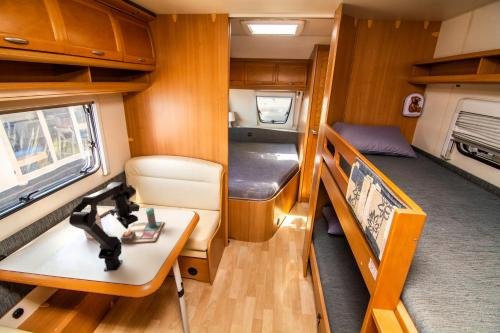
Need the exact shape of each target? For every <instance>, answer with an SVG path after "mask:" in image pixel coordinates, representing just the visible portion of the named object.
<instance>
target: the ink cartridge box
mask: <svg viewBox="0 0 500 333" xmlns="http://www.w3.org/2000/svg"><path fill="white" fill-rule="evenodd" d="M95 218H96V224H97V225H98V226H99V227H100V228H101V229H102V230H103V231H104V232H105V230H104V227H103V224H102V221H101V218H100V217H99V214H98V212H97V214H96V216H95ZM83 232H84V236H85V238H86V239H91V240H95V239H94V238H93V237H92V236H90V235H89V234H88V233H87V232H86V231H85V230H83Z"/></svg>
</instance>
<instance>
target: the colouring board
mask: <svg viewBox="0 0 500 333" xmlns="http://www.w3.org/2000/svg"><path fill="white" fill-rule="evenodd" d="M164 225H165V221H156V227H155V228H149V223H148V222H134V223H132V225H131V226H130V228H128V231H124V232H123V234H122V235H121V237H120V239H119V240H120V242H121V245H131V244H145V243H147V244H148V243H156V242H157V239H158V237H159V236H160V233H161V232H162V229H163V227H164ZM126 232H130V233H131V236H130V237H125V233H126Z"/></svg>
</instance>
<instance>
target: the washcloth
mask: <svg viewBox="0 0 500 333" xmlns="http://www.w3.org/2000/svg"><path fill="white" fill-rule="evenodd" d="M112 209H113V208H112ZM112 209H111V208H106V207H97V212H98V214H99V217H100V219H101V218H103V217H105V216H107V215H108V214H111V210H112Z"/></svg>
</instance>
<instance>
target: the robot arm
mask: <svg viewBox="0 0 500 333" xmlns="http://www.w3.org/2000/svg"><path fill="white" fill-rule="evenodd" d="M106 186H107V187H105V188H102V189H101V190H98V191H97V192H94V193H91V194H89V195H86V196H84V197H83V198H82V199H81V201H80V202H79V203H78V204H77V205H76V206H75V207H74V208H73V210H72V212H71V214H70V216H69V218H68V219H69V221H68V222H69V225H70V226H73V227H74V228H77V229H80V230H83V231H84V230H85V231H86V232H87V233H88V234H89V235H90V236H92V237H93V238H94V239H93V240H95V241H96V242H97V243H99V252H98V253H99V254H98V258H99V259H100V260H101V259H102V260H104V264H105V267H104V268H103V271H104V272H105V271H117V270H118V269H119V268H120V266H121V264H122V262H123V259H120V258H119V257H120V256H121V255H122V249H123V248H122V245H123V244H121V239H119V237H118V236H114V235H113V236H112V235H109V234H107V233H106V231H105V230H104V229H103V230H104V231H103V230H102V229H101V228H100V227H99V226H98V225H97V224H96V218H95V216H96V214H97V208H98V207H97V206H98V204H99V203H101V202H102V201H104V200H107V199H108V198H110V197H111V198H110V200H111V201H114V208H112V210H111V212H110V215H112V217H114V216H115V215H116V216H117V217H115V218H116V220H117V221H118V223H120V224H121V225H122V226H123V228H125V229H126V230H129V226H130V225H131V224H132V225H133V224H134V223H137V221H139V216H137V215H135V214H133V212H139V211H140V205H139V204H138V203H135V202H133V201H132V200H131V201H130V199H131V198H132V197H134V196H135V195H136V194H137V190H136V189H135V187H133V186H132V184H128V185H127V184H126V183H125V182H120V181H118V182H117V181H111V182H110V183H109V184H108V185H106ZM128 200H129V201H128ZM88 206H90V211H83V210H84V209H86V208H87V207H88Z"/></svg>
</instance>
